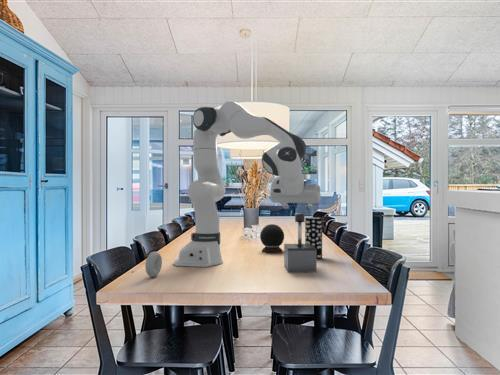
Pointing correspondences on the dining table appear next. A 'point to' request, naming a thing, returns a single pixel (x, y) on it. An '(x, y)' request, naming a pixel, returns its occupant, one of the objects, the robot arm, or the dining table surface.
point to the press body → (300, 258)
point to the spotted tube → (314, 234)
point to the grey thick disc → (153, 264)
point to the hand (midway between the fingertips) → (297, 207)
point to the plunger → (299, 226)
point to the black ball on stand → (272, 238)
